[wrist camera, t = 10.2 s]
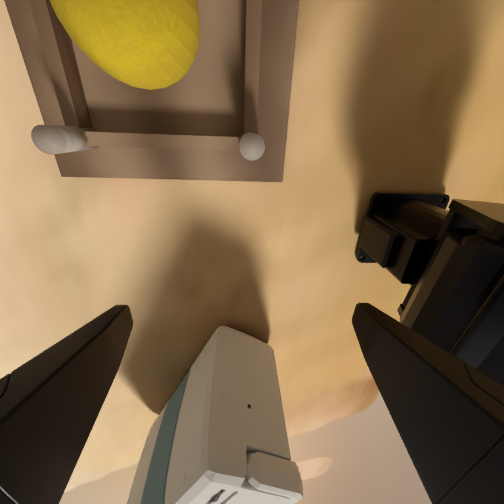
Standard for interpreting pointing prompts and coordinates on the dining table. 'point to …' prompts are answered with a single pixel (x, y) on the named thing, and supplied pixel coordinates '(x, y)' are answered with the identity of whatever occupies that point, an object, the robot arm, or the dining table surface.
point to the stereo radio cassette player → (221, 432)
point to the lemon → (135, 37)
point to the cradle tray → (168, 99)
